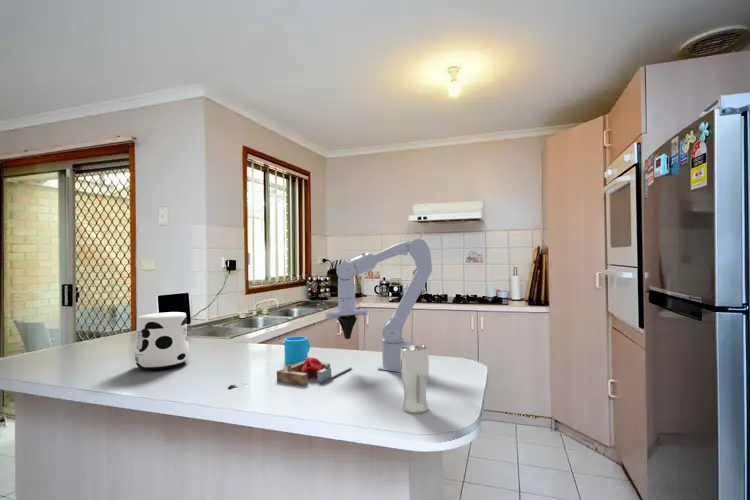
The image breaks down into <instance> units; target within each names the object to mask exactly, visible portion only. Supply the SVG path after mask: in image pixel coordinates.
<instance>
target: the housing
mask: <svg viewBox="0 0 750 500" xmlns="http://www.w3.org/2000/svg"><path fill="white" fill-rule="evenodd" d="M307 359H309V358H305V360H304V361H302V362H299V363H297V364H287V365H286V366H287V367H285V368H282V369H280V370H276V382H279V383H280V382H281V383H287V384H293V385H297V386H305V385H307V384H308V373H309V372H307V371H306V372H305V373H301V369H302V367H303V364H304V362H305V361H306V360H307ZM320 362H321V361H320ZM321 364H322V369H324V368H325V366H326V365H329V368H331V363H330V362H321ZM351 370H352V367H349V368H347V369H344V370H342V371H341V372H339V373H336V374H335V375H333V376H332V375H331V377H330V378H328V379H326V380H324V381H322V382H320V385H324V384H326V383H327V382H330V381H332V380H333V379H336V378H338V377H340V376H342V375H344V374H345V373H348V372H349V371H351ZM314 374H317V371H316V372H315V373H314Z"/></svg>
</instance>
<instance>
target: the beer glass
mask: <svg viewBox="0 0 750 500" xmlns="http://www.w3.org/2000/svg"><path fill="white" fill-rule="evenodd" d="M428 350H429V349H428V346H426V345H424V344H423V345H422V344H411V345H405V346H402V347H401V356H400V368H401V372H400V374H401V381H402V386H403V392H404V394H403V395H404V398H403V404H402V405H403V406H402V409H403V411H404V412H406V413H409V414H413V415H414V414H418V415H419V414H424V413H426V412H427V411H428V410H429V406H428V400H427V386H428V380H429V371H430V361H429V351H428Z"/></svg>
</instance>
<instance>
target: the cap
mask: <svg viewBox="0 0 750 500" xmlns="http://www.w3.org/2000/svg"><path fill="white" fill-rule="evenodd" d="M320 370H322V364H321V361H320V360H319V359H318V358H316V357H310V358H308V359H307V360H306V361H305V362H304V364H303V367H302V369H301V373H305V372H306V371H307V372H308V373H309V374H316V373H315V372H316V371H317V372H318V371H320Z"/></svg>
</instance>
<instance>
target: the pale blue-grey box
mask: <svg viewBox="0 0 750 500" xmlns="http://www.w3.org/2000/svg"><path fill="white" fill-rule="evenodd" d="M316 374H317V375H316V376H317V377H316V378H317V382H318V383H321V382H322V381H324V380H326V379H328V378H330V377H332V367H330V368H329V365H326V366H325V368H324V369H322V370H320V371H318V372H317V373H316Z"/></svg>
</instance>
